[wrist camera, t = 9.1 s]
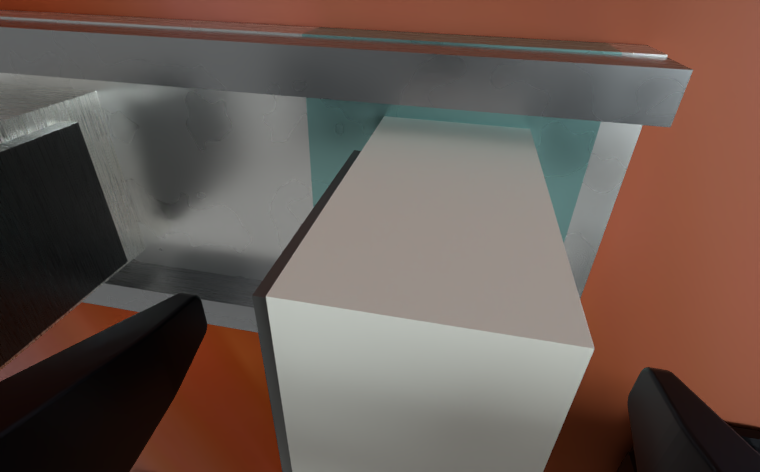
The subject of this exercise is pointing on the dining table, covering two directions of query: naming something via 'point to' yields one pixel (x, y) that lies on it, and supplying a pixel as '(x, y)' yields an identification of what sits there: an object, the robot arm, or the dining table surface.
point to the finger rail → (264, 145)
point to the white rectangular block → (425, 310)
